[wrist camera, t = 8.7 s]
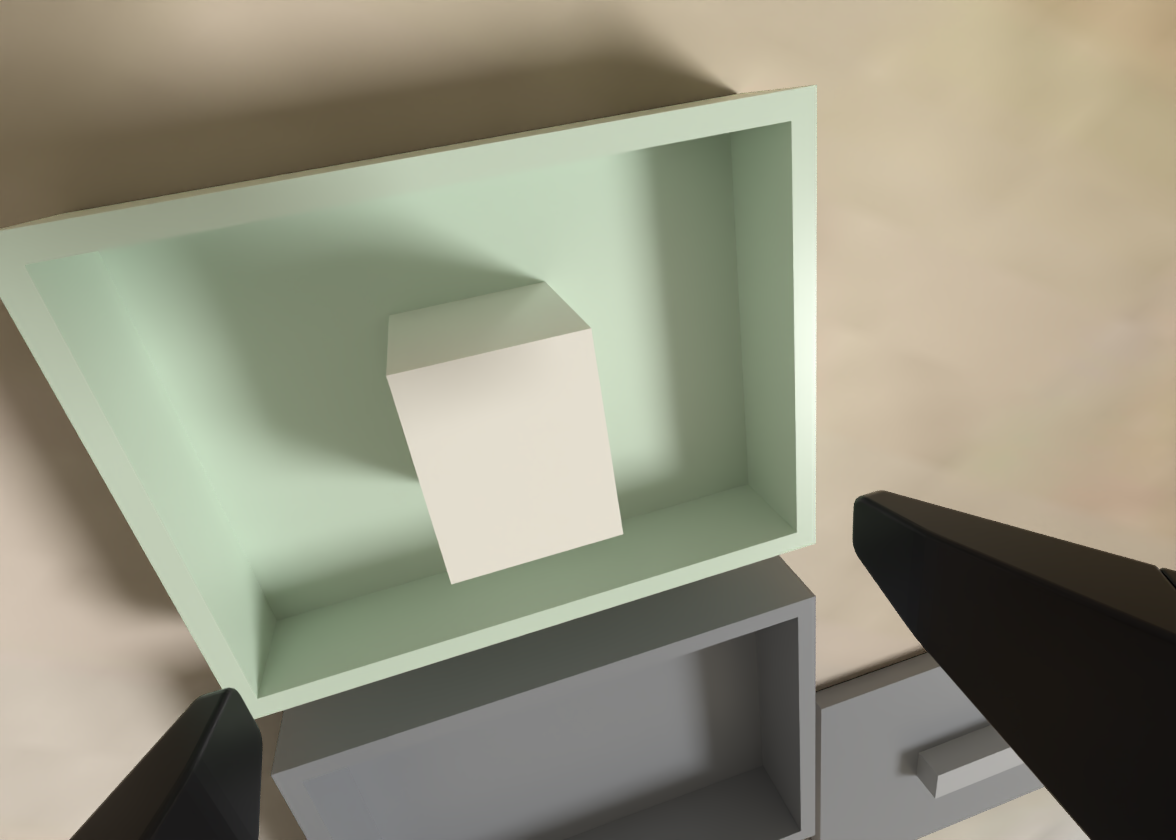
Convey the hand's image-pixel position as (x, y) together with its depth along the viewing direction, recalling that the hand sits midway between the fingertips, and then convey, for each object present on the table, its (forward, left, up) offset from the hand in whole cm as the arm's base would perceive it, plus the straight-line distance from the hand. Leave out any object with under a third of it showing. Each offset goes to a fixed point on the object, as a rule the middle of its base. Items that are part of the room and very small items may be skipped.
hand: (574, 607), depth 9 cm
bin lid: (+18, -23, -10) cm, 31 cm away
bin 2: (0, -14, -10) cm, 17 cm away
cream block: (0, 0, -9) cm, 9 cm away
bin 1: (0, 0, -10) cm, 10 cm away
